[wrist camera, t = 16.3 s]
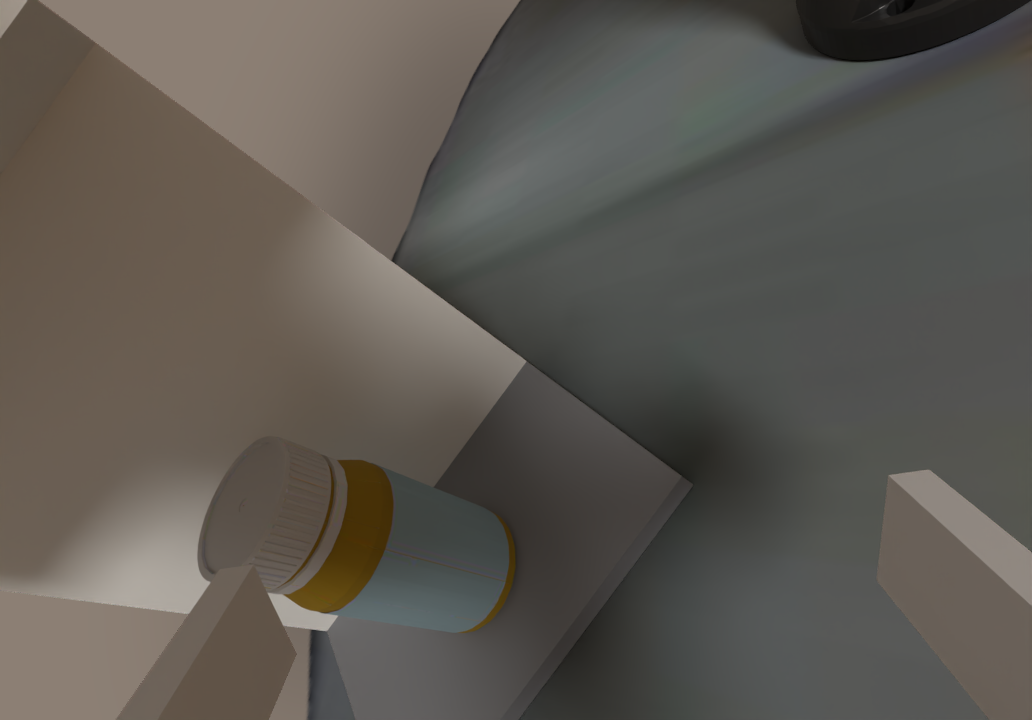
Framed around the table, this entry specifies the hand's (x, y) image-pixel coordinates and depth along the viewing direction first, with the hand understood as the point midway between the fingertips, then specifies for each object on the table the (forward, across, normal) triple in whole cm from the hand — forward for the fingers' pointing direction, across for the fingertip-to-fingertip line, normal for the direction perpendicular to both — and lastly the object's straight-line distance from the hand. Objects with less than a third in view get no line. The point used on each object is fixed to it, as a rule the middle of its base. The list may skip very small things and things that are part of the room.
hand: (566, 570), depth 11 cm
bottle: (+16, -6, -15) cm, 23 cm away
